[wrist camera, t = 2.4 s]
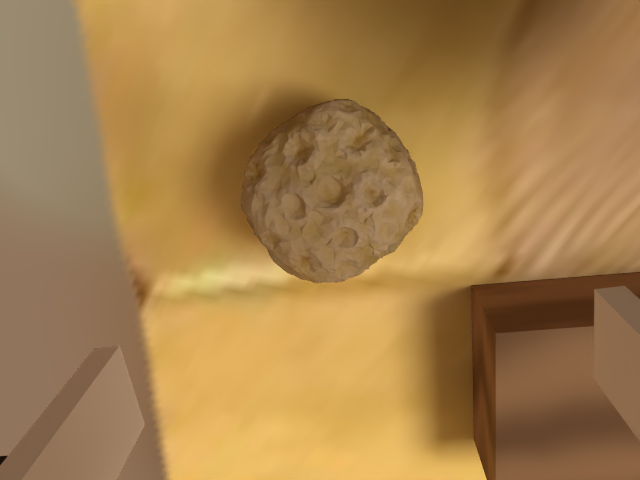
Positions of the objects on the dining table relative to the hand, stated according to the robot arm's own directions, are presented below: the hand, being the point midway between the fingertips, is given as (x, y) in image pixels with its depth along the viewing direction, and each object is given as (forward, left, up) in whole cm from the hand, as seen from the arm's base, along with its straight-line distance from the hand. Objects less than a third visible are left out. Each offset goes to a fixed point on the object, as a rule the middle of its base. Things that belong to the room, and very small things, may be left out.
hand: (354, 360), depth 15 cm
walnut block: (+13, +13, -19) cm, 27 cm away
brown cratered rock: (-1, -1, -19) cm, 19 cm away
